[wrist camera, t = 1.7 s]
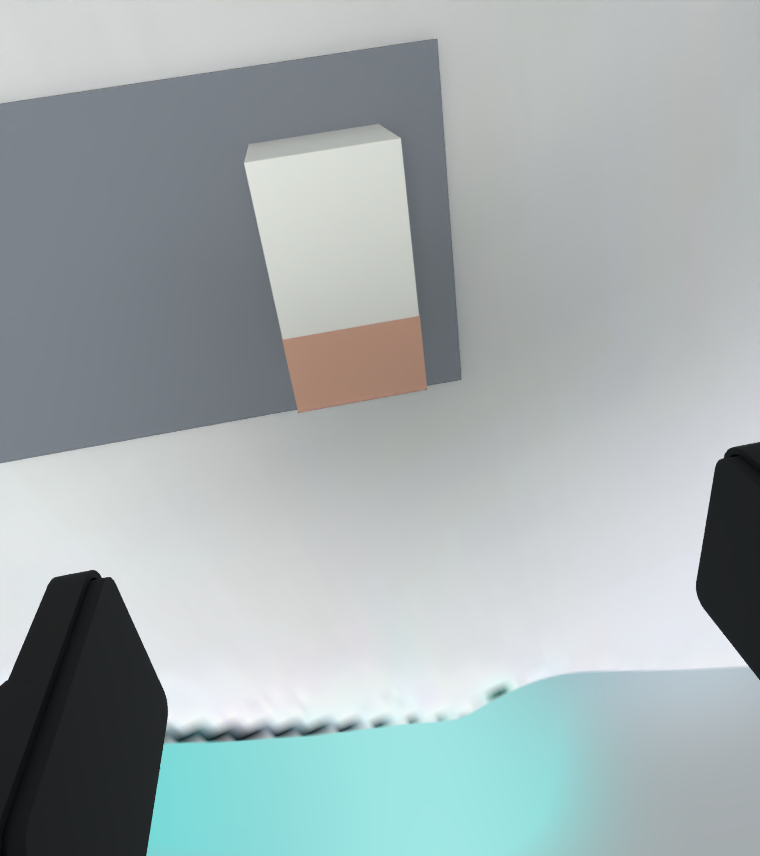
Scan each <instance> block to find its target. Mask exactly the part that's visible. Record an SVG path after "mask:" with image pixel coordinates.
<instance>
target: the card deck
mask: <svg viewBox="0 0 760 856" xmlns="http://www.w3.org/2000/svg"><path fill="white" fill-rule="evenodd" d="M244 165H245V170H246V174H247V179H248V184H249V188H250V193H251V197H252V202H253V206H254V211H255V215H256V220H257V225H258V229H259V234H260V238H261V243H262V247H263V252H264V256H265V261H266V266H267V270H268V275H269V279H270V284H271V288H272V293H273V297H274V302H275V307H276V311H277V316H278V320H279V325H280V329H281V334H282V342H283V346H284V351H285V355H286V360H287V364H288V369H289V373H290V378H291V382H292V387H293V392H294V396H295V401H296V405H297V410H298V413H300V412H305V411H311V410H316V409H322V408H327V407H333V406H338V405H344V404H349V403H355V402H360V401H366V400H371V399H377V398H382V397H388V396H393V395H399V394H404V393H410V392H415V391H421V390H426V389H427V382H426V372H425V362H424V352H423V342H422V332H421V323H420V316H419V310H418V301H417V291H416V281H415V271H414V262H413V252H412V242H411V232H410V222H409V213H408V203H407V193H406V183H405V174H404V164H403V154H402V144H401V138H400V137H398V136H397V135H395V134H394V133H392V132H391V131H389V130H388V129H386V128H384V127H383V126H381V125H380V124H374V125H368V126H361V127H355V128H348V129H342V130H336V131H329V132H323V133H316V134H310V135H304V136H297V137H291V138H284V139H278V140H272V141H265V142H259V143H252V144H249V145H248V149H247V153H246V157H245V161H244Z"/></svg>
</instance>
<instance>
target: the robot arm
mask: <svg viewBox="0 0 760 856" xmlns="http://www.w3.org/2000/svg"><path fill="white" fill-rule="evenodd" d="M696 591H697V596H698V599H699V601H700V603H701V605H702V607H703V608H704V609H705V611H706V612H707V613H708V615H709V616H710V617H711V618H712V620H713V621H714V622H715V624H716V625H717V626H718V627H719V629H720V630H721V631H722V632H723V634H724V635H725V636H726V638H727V639H728V640H729V641H730V643H731V644H732V645H733V647H734V648H735V649H736V650H737V652H738V653H739V654H740V655H741V657H742V658H743V659H744V661H745V662H746V663H747V664H748V666H749V667H750V668H751V669H752V671H753V672H754V673H755V675H756V676H757V677H758V678H759V680H760V442H758V443H753V444H747V445H742V446H737V447H732V448H730V449H728V450H727V452H726V453H725V455H724V459H721V460H719V461H718V462H717V464H716V467H715V472H714V478H713V484H712V490H711V496H710V502H709V508H708V514H707V520H706V527H705V533H704V539H703V545H702V551H701V557H700V563H699V569H698V575H697V581H696ZM167 717H168V706H167V699H166V695H165V692H164V690H163V688H162V686H161V683H160V681H159V679H158V677H157V674H156V672H155V670H154V668H153V666H152V663H151V661H150V659H149V657H148V654H147V652H146V650H145V648H144V646H143V643H142V641H141V639H140V637H139V635H138V632H137V630H136V628H135V626H134V623H133V621H132V619H131V617H130V615H129V612H128V610H127V608H126V606H125V603H124V601H123V599H122V597H121V595H120V592H119V590H118V588H117V586H116V584H115V582H114V580H113V579H112V578H111V577H106V578H102V577H101V575H100V574H99V573H98V572H97V571H95V570H90V571H85V572H80V573H74V574H69V575H64V576H59V577H55V578H53V579H52V580H51V581H50V583H49V584H48V586H47V589H46V591H45V594H44V596H43V598H42V601H41V603H40V605H39V608H38V610H37V613H36V615H35V617H34V620H33V622H32V624H31V627H30V629H29V632H28V634H27V636H26V639H25V641H24V644H23V646H22V648H21V651H20V653H19V655H18V658H17V660H16V663H15V665H14V667H13V670H12V672H11V674H10V677H9V679H8V680H7V681H5V682H4V683H3V684H2V685H1V686H0V856H146V853H147V847H148V840H149V834H150V827H151V821H152V814H153V808H154V801H155V795H156V788H157V783H158V776H159V770H160V763H161V757H162V751H163V744H164V738H165V731H166V725H167Z"/></svg>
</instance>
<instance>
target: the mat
mask: <svg viewBox="0 0 760 856" xmlns="http://www.w3.org/2000/svg"><path fill="white" fill-rule="evenodd" d="M374 124H380V125H381V126H383V127H384V128H386V129H388V130H389V131H391V132H392V133H394V134H395V135H397V136H398V137H400V138H401V144H402V154H403V164H404V174H405V183H406V193H407V203H408V213H409V222H410V232H411V242H412V252H413V262H414V271H415V281H416V291H417V301H418V310H419V316H420V323H421V332H422V342H423V352H424V362H425V372H426V382H427V386H429V385H435V384H440V383H446V382H451V381H457V380H461V368H460V354H459V340H458V326H457V312H456V297H455V283H454V269H453V255H452V241H451V227H450V213H449V199H448V185H447V171H446V157H445V143H444V128H443V114H442V100H441V86H440V72H439V58H438V44H437V39H431V40H425V41H418V42H411V43H405V44H398V45H391V46H384V47H378V48H371V49H364V50H358V51H351V52H344V53H338V54H331V55H324V56H317V57H311V58H304V59H297V60H291V61H284V62H277V63H270V64H264V65H257V66H250V67H244V68H237V69H230V70H224V71H217V72H210V73H203V74H197V75H190V76H183V77H177V78H170V79H163V80H157V81H150V82H143V83H136V84H130V85H123V86H116V87H110V88H103V89H96V90H90V91H83V92H76V93H69V94H63V95H56V96H49V97H43V98H36V99H29V100H22V101H16V102H9V103H2V104H0V463H4V462H10V461H15V460H21V459H26V458H32V457H37V456H43V455H48V454H54V453H59V452H65V451H70V450H76V449H81V448H87V447H93V446H98V445H104V444H109V443H115V442H120V441H126V440H131V439H137V438H142V437H148V436H153V435H159V434H164V433H170V432H175V431H181V430H186V429H192V428H197V427H203V426H208V425H214V424H219V423H225V422H230V421H236V420H241V419H247V418H253V417H258V416H264V415H269V414H275V413H280V412H286V411H291V410H297V405H296V401H295V396H294V392H293V387H292V382H291V378H290V373H289V369H288V364H287V360H286V355H285V351H284V346H283V342H282V334H281V329H280V325H279V320H278V316H277V311H276V307H275V302H274V297H273V293H272V288H271V284H270V279H269V275H268V270H267V266H266V261H265V256H264V252H263V247H262V243H261V238H260V234H259V229H258V225H257V220H256V215H255V211H254V206H253V202H252V197H251V193H250V188H249V184H248V179H247V174H246V170H245V165H244V161H245V157H246V153H247V149H248V145H249V144H252V143H259V142H265V141H272V140H278V139H284V138H291V137H297V136H304V135H310V134H316V133H323V132H329V131H336V130H342V129H348V128H355V127H361V126H368V125H374Z"/></svg>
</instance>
